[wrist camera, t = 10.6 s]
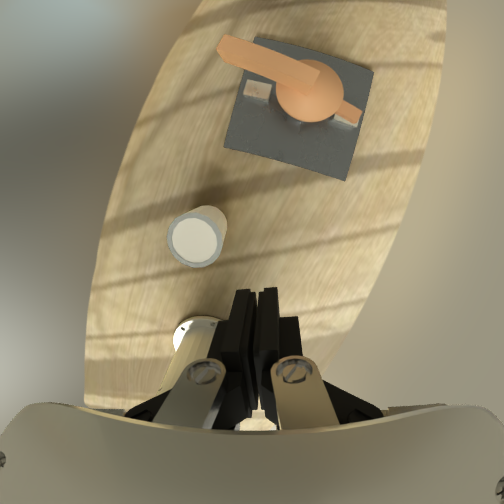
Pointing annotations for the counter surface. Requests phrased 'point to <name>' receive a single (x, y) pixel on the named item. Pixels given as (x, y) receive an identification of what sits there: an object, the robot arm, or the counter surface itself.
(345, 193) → the counter surface
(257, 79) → the grey plate with posts
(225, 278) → the counter surface
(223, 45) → the orange lever handle
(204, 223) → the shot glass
